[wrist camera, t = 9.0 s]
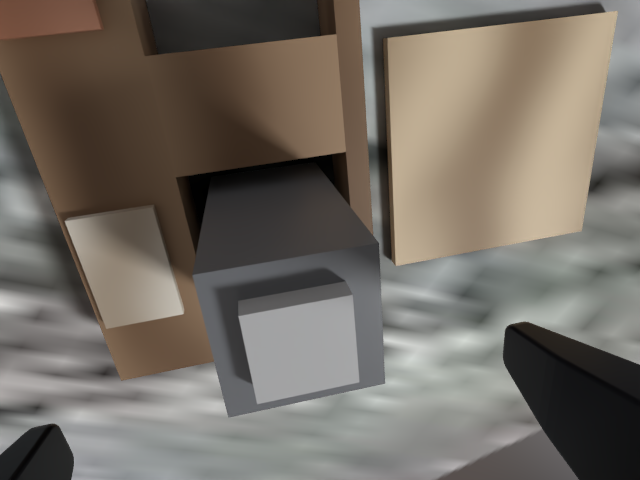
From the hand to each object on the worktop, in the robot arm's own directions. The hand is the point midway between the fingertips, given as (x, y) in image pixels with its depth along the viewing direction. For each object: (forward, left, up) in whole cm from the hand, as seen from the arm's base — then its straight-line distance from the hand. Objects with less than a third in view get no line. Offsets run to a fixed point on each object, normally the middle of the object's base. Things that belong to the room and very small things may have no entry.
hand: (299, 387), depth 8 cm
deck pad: (-10, -2, -10) cm, 14 cm away
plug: (0, 0, -10) cm, 10 cm away
